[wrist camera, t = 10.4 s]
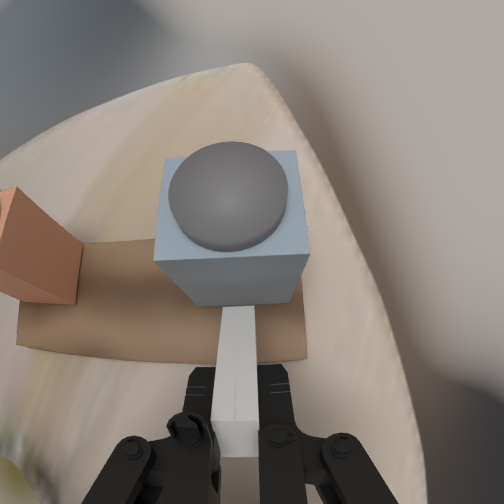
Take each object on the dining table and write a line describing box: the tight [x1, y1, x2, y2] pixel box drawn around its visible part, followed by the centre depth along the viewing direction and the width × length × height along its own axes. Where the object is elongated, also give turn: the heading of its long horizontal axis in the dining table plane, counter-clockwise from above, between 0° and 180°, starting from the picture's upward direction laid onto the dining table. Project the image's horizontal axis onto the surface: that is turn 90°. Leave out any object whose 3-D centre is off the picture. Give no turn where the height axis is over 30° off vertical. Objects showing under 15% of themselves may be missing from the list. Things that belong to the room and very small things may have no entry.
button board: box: [16, 239, 307, 363], centre depth 21 cm, size 9×24×2 cm, turn 92°
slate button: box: [153, 142, 310, 307], centre depth 16 cm, size 5×6×10 cm
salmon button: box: [0, 187, 83, 305], centre depth 16 cm, size 5×6×10 cm
